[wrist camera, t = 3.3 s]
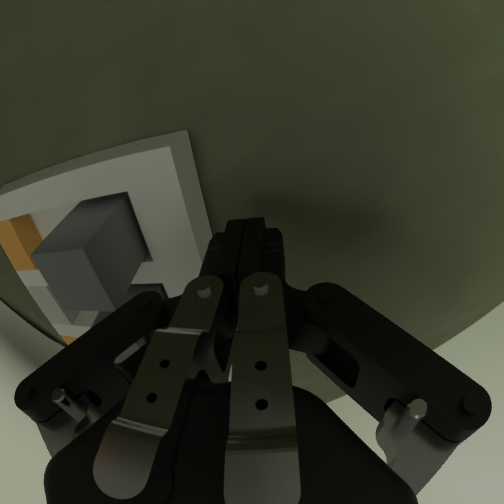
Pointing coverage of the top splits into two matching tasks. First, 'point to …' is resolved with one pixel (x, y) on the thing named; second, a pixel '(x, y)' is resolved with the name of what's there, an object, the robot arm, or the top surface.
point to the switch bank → (106, 183)
